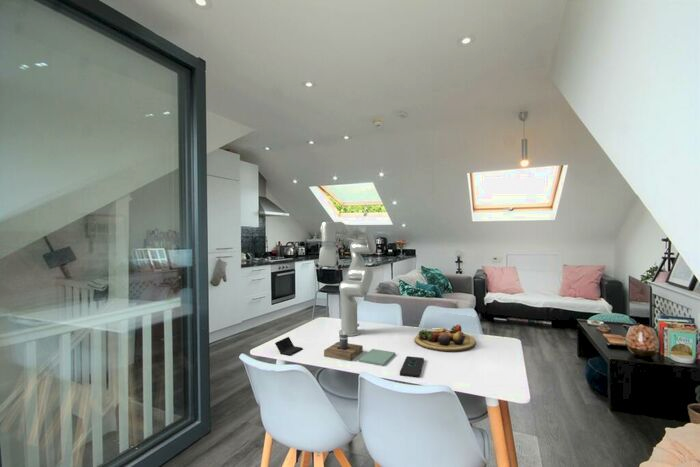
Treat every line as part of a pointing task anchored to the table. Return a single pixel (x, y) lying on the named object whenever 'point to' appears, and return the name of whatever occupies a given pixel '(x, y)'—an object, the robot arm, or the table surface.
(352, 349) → the wooden block with hole
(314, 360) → the table surface
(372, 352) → the mat
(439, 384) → the table surface
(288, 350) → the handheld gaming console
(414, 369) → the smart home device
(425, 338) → the wooden plate with food
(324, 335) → the table surface
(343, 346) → the plug
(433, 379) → the table surface
